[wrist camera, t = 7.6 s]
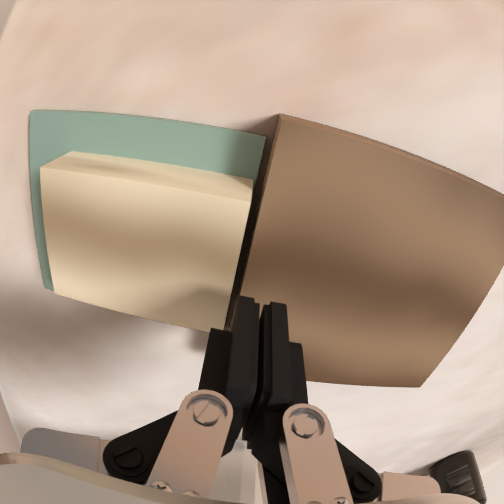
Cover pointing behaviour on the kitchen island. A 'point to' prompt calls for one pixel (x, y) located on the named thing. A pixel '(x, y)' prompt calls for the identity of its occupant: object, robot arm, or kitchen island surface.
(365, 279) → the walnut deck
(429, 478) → the robot arm
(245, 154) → the rubber mat
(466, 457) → the supplement bottle
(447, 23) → the kitchen island surface
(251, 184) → the birch tile
